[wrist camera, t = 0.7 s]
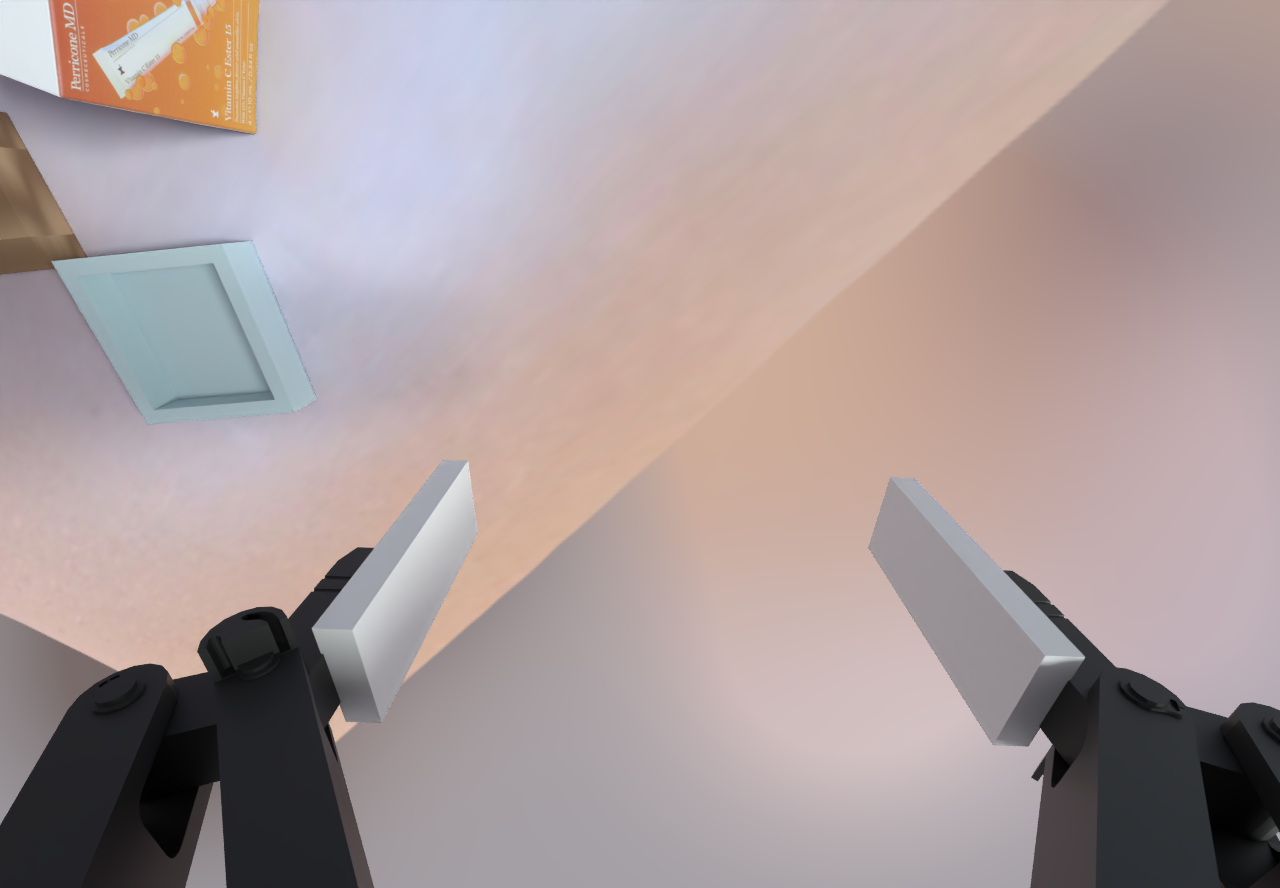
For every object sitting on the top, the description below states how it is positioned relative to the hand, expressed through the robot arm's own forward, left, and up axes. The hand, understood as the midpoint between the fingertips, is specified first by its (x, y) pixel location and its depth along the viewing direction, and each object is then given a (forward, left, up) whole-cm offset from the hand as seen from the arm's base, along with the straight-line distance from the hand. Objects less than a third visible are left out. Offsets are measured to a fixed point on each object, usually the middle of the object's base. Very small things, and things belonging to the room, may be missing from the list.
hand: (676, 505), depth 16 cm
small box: (-20, -28, -27) cm, 44 cm away
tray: (-2, -37, -27) cm, 46 cm away
